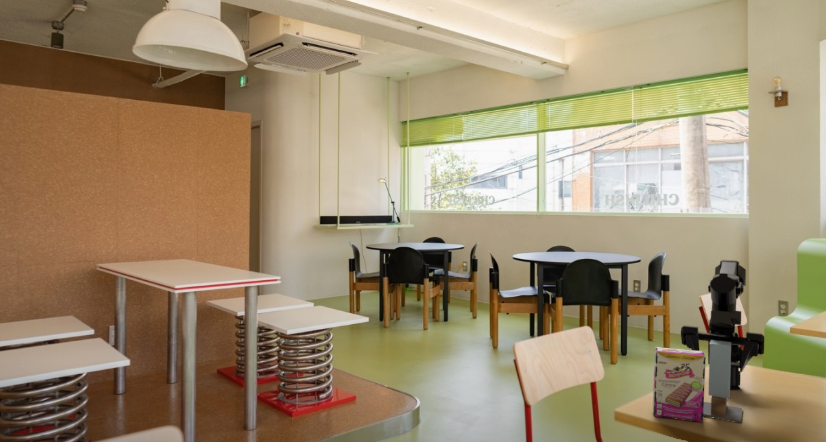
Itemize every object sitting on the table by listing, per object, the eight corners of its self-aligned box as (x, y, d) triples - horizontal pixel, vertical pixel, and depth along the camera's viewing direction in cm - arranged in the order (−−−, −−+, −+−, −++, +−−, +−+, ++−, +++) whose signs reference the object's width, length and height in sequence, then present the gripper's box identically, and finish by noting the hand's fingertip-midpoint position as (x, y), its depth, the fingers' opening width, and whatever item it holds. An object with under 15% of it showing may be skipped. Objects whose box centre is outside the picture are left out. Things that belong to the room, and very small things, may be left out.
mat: (694, 414, 143) (694, 412, 143) (698, 403, 152) (698, 400, 152) (741, 423, 138) (741, 420, 138) (742, 410, 147) (742, 407, 147)
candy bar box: (653, 417, 141) (655, 351, 141) (652, 410, 146) (653, 346, 145) (704, 423, 138) (706, 355, 137) (701, 416, 142) (703, 350, 142)
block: (708, 395, 144) (709, 343, 143) (709, 390, 148) (711, 339, 147) (729, 398, 142) (730, 346, 141) (729, 393, 145) (731, 342, 145)
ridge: (710, 414, 142) (711, 398, 142) (713, 403, 149) (713, 388, 149) (724, 417, 140) (725, 400, 140) (726, 405, 148) (726, 390, 148)
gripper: (682, 294, 152) (676, 345, 143) (765, 301, 142) (764, 356, 133) (684, 319, 159) (679, 368, 150) (764, 327, 149) (763, 380, 140)
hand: (719, 368), depth 143 cm, fingers open, 9 cm apart
